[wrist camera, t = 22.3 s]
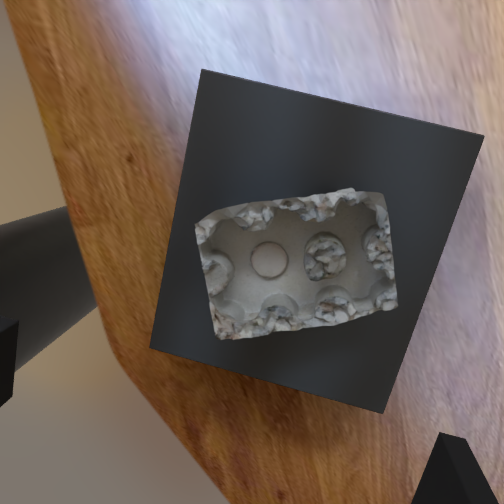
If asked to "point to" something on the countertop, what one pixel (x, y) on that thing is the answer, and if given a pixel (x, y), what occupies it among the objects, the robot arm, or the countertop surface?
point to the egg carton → (297, 262)
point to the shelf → (304, 185)
